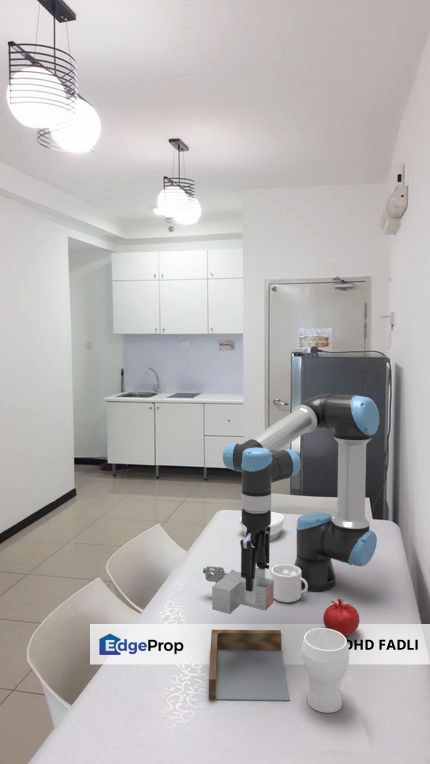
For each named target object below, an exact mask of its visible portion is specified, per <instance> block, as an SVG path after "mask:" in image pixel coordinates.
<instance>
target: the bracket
mask: <svg viewBox="0 0 430 764" xmlns="http://www.w3.org/2000/svg"><path fill="white" fill-rule="evenodd" d="M230 571H231V570H230ZM230 571H229V572H230ZM229 572H228V573H229ZM255 577H256V603H255V604H254V603H250V602H246V601H245V578H242V577H241V571H236V570H233V571H231V572H230V573H229V574H228V575H226V576H225V577H224V578H222V579H221V580H220V581H219V582H217V583H216V582H215V584H214V585H212V588H211V590H212V591H211V592H212V593H211V594H212V595H211V597H212V598H211V599H212V600H211V602H212V603H211V606H212V607H211V608H212V609H211V610H213V611H217V612H220V613H224V614H228V615H231V614H232V613H233V612H234V611H235V610H236V609H237V608H238V607H239V606H240V605H242V606H247V607H250V608H253V609H257V610H261V611H265V612H266V611H267V610H268V609H269V608H271V606H272V605H273V604H274V598H273V595H274V580H271V578H266V577H265V578H261V577H257V576H255Z"/></svg>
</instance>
